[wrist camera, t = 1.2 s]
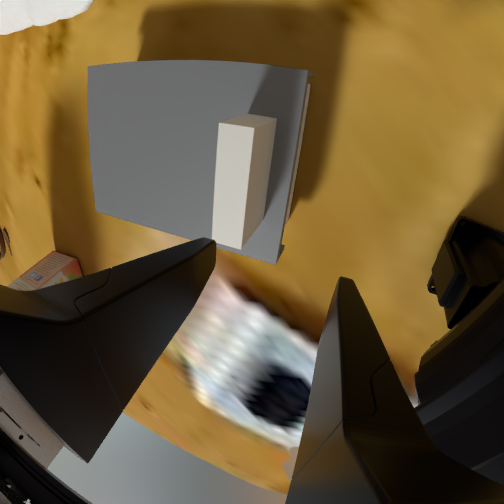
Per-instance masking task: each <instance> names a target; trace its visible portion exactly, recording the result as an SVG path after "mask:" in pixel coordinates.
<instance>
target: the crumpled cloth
mask: <svg viewBox="0 0 504 504" xmlns="http://www.w3.org/2000/svg"><path fill="white" fill-rule="evenodd" d="M93 2H94V0H0V34H1V35H3V34H4V35H7V34H10V33H13V32H17V31H20V30H24V29H25V28H28V27H31V26H33V25H35V26H44V25H47V24H50V23H53V22H55V21H57V20H59V19H68V18H71V17H75V16H76V15H77V14H80V13H82V12H84V11H86V10H88V9H89V8H90V6H91V5H92V3H93Z"/></svg>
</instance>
